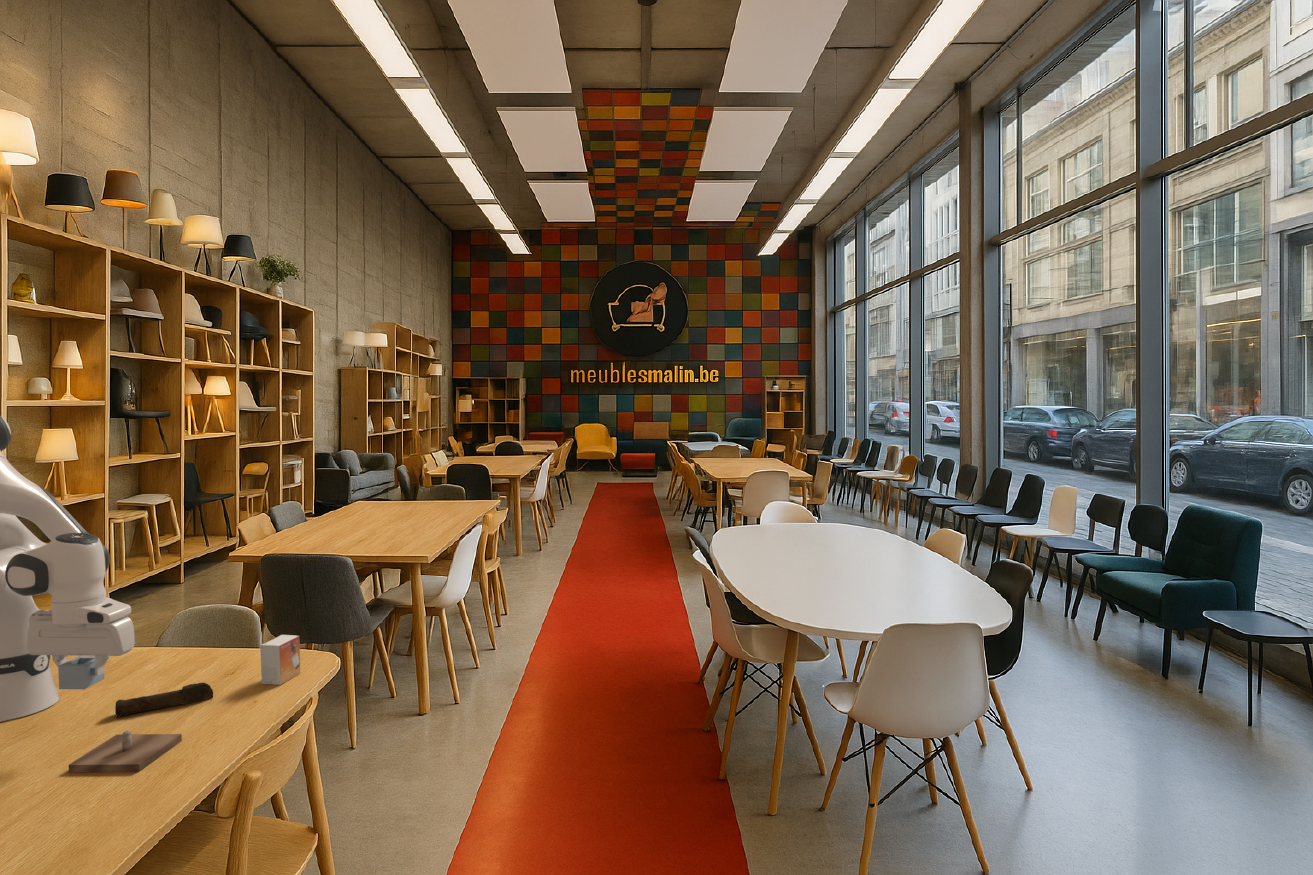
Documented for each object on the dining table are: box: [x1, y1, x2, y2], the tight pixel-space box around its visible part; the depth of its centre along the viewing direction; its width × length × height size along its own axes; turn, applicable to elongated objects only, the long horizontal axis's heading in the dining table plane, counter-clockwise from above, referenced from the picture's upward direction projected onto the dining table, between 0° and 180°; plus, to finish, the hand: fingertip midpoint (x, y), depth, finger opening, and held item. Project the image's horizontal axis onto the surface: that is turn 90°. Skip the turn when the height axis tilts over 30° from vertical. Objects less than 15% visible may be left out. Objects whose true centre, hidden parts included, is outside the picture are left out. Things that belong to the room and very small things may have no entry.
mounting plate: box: [68, 730, 183, 773], centre depth 139 cm, size 14×12×5 cm
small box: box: [259, 634, 301, 686], centre depth 177 cm, size 8×6×10 cm
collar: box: [57, 656, 105, 690], centre depth 142 cm, size 5×5×5 cm
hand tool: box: [114, 682, 214, 719], centre depth 161 cm, size 19×4×5 cm, turn 117°
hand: (81, 674), depth 142 cm, fingers closed on collar, 5 cm apart
